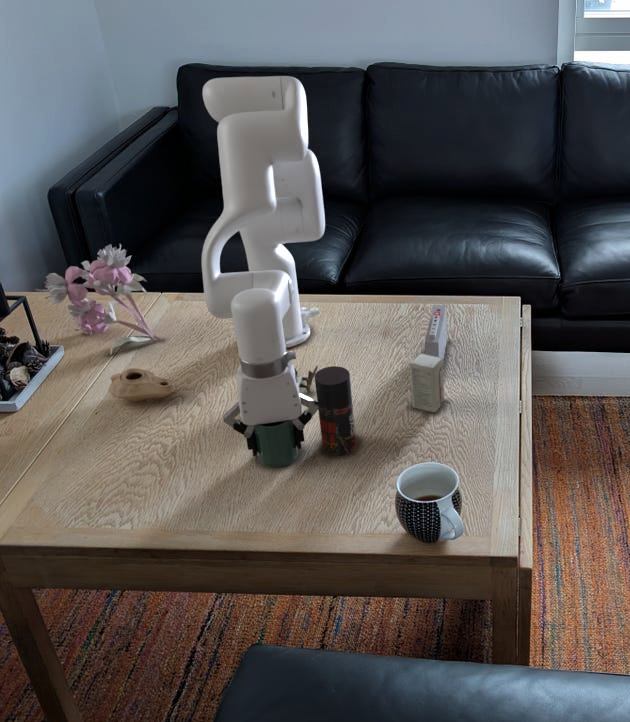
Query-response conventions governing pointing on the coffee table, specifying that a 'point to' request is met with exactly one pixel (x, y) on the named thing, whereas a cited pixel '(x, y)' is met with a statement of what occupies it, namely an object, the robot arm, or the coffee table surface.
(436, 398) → the beige box
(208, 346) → the coffee table surface
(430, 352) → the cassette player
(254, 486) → the coffee table surface
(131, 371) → the pottery oil lamp
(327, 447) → the deodorant
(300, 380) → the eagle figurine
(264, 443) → the pot
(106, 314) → the flower
